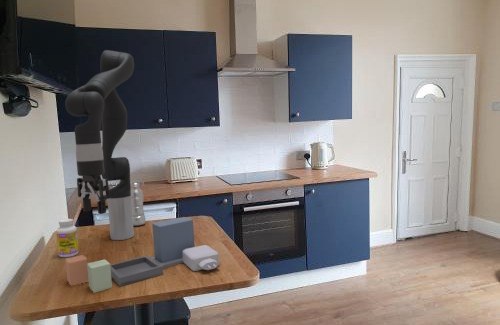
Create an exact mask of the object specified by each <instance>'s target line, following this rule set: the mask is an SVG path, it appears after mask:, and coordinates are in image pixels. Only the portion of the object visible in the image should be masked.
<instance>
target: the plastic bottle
mask: <svg viewBox="0 0 500 325" xmlns="http://www.w3.org/2000/svg"><path fill="white" fill-rule="evenodd" d="M130 185H131V204H132V216H133V227H134V226H135V227H137V226H138V227H139V226H142V225H145V223H146V215H145V211H144V210H145V209H144V191H143V190H142V189H141V188H140V182H139V181H136V182H130Z"/></svg>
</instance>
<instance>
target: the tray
mask: <svg viewBox="0 0 500 325" xmlns="http://www.w3.org/2000/svg"><path fill="white" fill-rule="evenodd" d="M150 257H151V256H150ZM150 257H149V256H148V255H143V256H139V257H134V258H131V259H127V260H123V261H119V262H116V263H110V269H111V280H113V281H114V282H115V283H116V284H117V285H118V286H119V287H120V288H121V287H123V286H127V285H131V284H133V283H137V282H141V281H145V280H148V279H151V278H155V277H159V276H162V275H164V268H163V266H162V265H160V264H159V263H157V262H156V261H154V260H153V259H151V258H150Z"/></svg>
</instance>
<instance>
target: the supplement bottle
mask: <svg viewBox="0 0 500 325" xmlns="http://www.w3.org/2000/svg"><path fill="white" fill-rule="evenodd" d="M58 225H59V227H58V228H57V229H56V238H57V239H56V240H57V252H58V257H60V258H71V257H75V256H76V255H77V256H78V254H79V239H78V238H79V237H78V229H77V228H78V227H77V226H75V225H74V219H73V218H65V219H61V220H59V221H58Z"/></svg>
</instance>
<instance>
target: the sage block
mask: <svg viewBox="0 0 500 325" xmlns="http://www.w3.org/2000/svg"><path fill="white" fill-rule="evenodd" d="M110 265H111V263H110V262H109V261H107V260H106V259H105V258H104V259H101V260H96V261H92V262H88V263H87V270H88V281H89V282H88V287H90V288H89V289H90V290H91V291H93V292H92V293H93V294H95V293H99V292H102V291H105V290H108V289H112V288H113V284H112V280H113V279H112V278H111V269H110Z"/></svg>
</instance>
